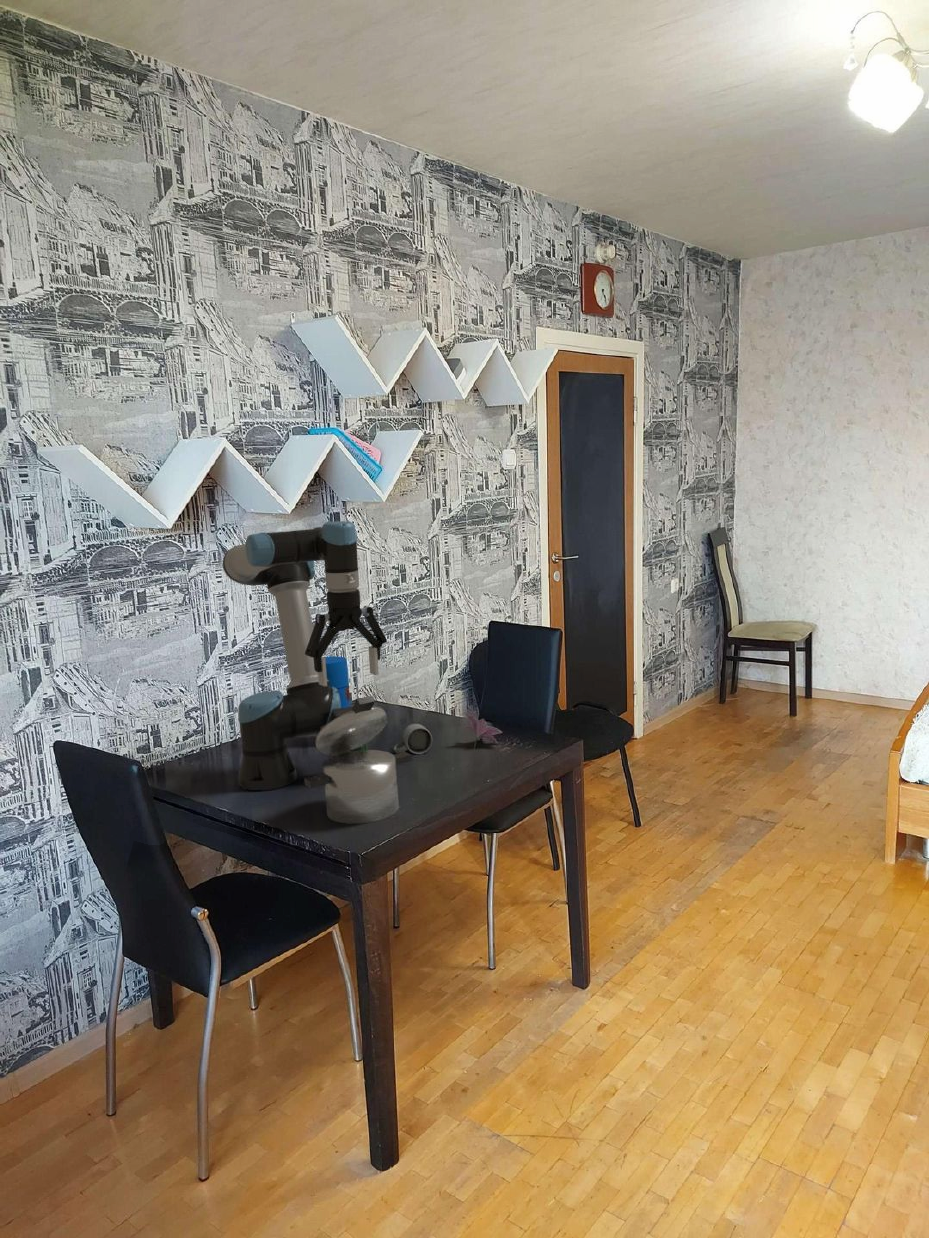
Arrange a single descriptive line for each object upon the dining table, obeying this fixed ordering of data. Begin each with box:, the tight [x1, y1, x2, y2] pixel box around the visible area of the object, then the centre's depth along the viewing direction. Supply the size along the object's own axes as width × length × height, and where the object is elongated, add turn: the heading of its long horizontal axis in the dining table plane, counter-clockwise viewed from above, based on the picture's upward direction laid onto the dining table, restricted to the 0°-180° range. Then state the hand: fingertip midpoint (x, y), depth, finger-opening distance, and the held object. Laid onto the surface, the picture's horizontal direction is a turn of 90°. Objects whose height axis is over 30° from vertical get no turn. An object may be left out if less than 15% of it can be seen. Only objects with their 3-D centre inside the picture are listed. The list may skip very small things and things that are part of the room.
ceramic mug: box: [393, 723, 433, 755], centre depth 252 cm, size 11×8×8 cm
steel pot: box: [303, 749, 413, 825], centre depth 210 cm, size 19×27×12 cm
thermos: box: [316, 655, 352, 736], centre depth 265 cm, size 11×11×25 cm
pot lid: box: [314, 694, 389, 756], centre depth 208 cm, size 22×18×3 cm
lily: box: [463, 712, 503, 749], centre depth 253 cm, size 12×12×10 cm
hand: (349, 679), depth 206 cm, fingers open, 13 cm apart
